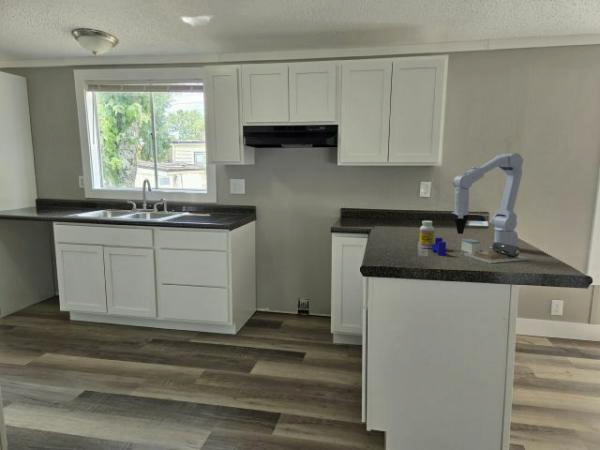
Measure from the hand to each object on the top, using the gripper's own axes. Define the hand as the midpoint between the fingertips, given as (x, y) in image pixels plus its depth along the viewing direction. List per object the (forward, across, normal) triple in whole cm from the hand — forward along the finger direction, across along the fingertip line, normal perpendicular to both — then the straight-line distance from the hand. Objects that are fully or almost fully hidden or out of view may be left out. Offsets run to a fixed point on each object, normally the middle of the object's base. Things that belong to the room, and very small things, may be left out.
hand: (460, 232), depth 179 cm
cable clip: (+10, +4, -9) cm, 14 cm away
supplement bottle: (+9, -7, -16) cm, 19 cm away
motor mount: (+9, +6, +14) cm, 18 cm away
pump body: (+9, -5, +4) cm, 12 cm away
